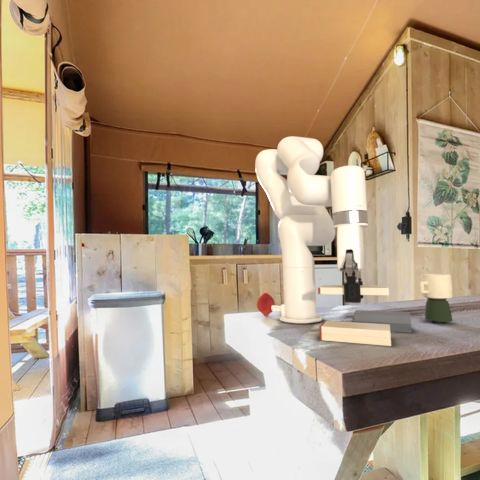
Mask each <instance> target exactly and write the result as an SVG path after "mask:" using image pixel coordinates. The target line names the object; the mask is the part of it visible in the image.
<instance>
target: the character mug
mask: <svg viewBox="0 0 480 480" xmlns="http://www.w3.org/2000/svg"><path fill="white" fill-rule="evenodd" d="M419 278H420V281H419V292H420V294H421V296H422V297H423V298H426V302H425V309H424V320H425V321H432V323H434V324H435V323H437V322H440V323H452V322H453V316H452V311H451V306H450V304H449V301H448V300H449V299H452V298H453V282H452V274H449V273H421V274H420V276H419Z"/></svg>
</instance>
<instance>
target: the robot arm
mask: <svg viewBox="0 0 480 480" xmlns="http://www.w3.org/2000/svg"><path fill="white" fill-rule="evenodd" d="M323 157H324V146H323V144H322V143H321V142H320V141H319V140H318V139H316V138H312V137H304V136H296V135H295V136H293V135H290V136H286V137H284V138H282V139H281V140H280V141H279V142H278V144H277V148H267V149H264V150H261V151H260V152H258V154H257V155H256V158H255V161H254V162H255V164H254V167H255V175H256V178H257V181H258V182H259V184H260V185H261V187H262V189H263V190H264V192H265V193H266V195H267V198H268V200H269V202H270V205H271V207H272V210H273V212H274V214H275V216H276V217H277V218H278V219H279V220H280V221H279V222H278V226H277V232H278V233H277V234H278V239H279V243H280V249H281V261H282V263H281V264H282V285H283V287H282V288H283V303H281V305H277V304H275V305H272V307H271V310H272V313H280V314H279V316H278V319H279V321H281V322H284V323H289V324H314V323H315V324H316V323H320V322H322V321H323V315H321V314H319V313H318V311H317V291H316V289H317V288H316V287H317V286H316V266H315V259H314V256H313V253H312V252H311V250H310V248H309V247H322V246H328V245H330V244H331V243H333V241H334V240H335V238H336V261H337V262H336V268H337V270H338V272H343V282H344V283H343V285H344V297H343V298H344V302H345V303H346V304H347V303H349V304H350V303H351V304H352V303H353V304H360V303H361V302H362V299H364V295H361V293H360V285H364V284H363V283H364V282H363V280H362V270H364V262H365V261H364V258H365V252H364V251H365V249H364V229H365V228H369V217H368V215H369V214H368V203H367V201H368V200H367V186H366V171H365V170H364V168H363V167H362V166H360V165H353V164H352V165H350V164H349V165H343V166H339V167H336V168H334V170H332V171H331V173H330V175H320V174H317V172H318V170H319V168H320V163H321V161H322V159H323ZM282 175H283V176H286V178H285V177H283V176H282ZM326 207H331V214H332V216H331V214H330V213H329V211H328V210H327V208H326Z"/></svg>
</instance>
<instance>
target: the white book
mask: <svg viewBox="0 0 480 480" xmlns="http://www.w3.org/2000/svg"><path fill="white" fill-rule="evenodd" d="M360 293H361V295H363V296H390V287H389V285H383V284H382V285H381V284H380V285H376V284H375V285H370V284H369V285H367V284H363V285H360ZM317 295H335V296H337V295H339V296H340V295H341V296H342V295H344V284H342V285H341V284H340V285H339V284H333V285H332V284H330V285H329V284H324V285H322V286H319V287H317Z"/></svg>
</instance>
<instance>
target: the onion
mask: <svg viewBox="0 0 480 480" xmlns="http://www.w3.org/2000/svg"><path fill="white" fill-rule="evenodd" d="M272 305H276V302H275V299H274V298H273V297H272V296H271V295H270V294H269V293H268V292H267V291H265V290H263V293H262V294H261V295H260V296H259V298H258V299H257V301H256V308H257V309H258V311H259V312H260V313H261V314H262V315H263V316H265V317H268V316H269V315H270V314H271V313H273V311H272V310H271V307H272Z"/></svg>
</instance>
